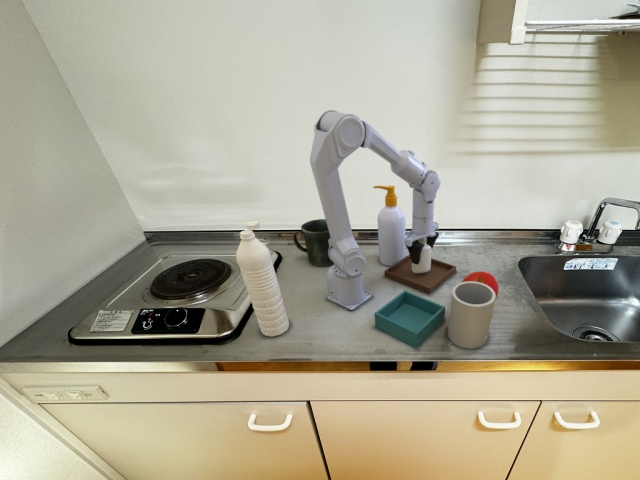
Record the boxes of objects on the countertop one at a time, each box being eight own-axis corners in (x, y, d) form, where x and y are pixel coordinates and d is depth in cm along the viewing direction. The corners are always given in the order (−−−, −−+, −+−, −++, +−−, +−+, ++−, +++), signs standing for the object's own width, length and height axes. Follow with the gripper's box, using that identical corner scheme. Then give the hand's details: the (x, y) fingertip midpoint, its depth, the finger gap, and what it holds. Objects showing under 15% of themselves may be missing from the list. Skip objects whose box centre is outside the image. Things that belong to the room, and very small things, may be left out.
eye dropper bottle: (429, 274, 94) (432, 237, 87) (410, 273, 94) (411, 236, 87) (430, 267, 97) (433, 231, 90) (412, 266, 98) (413, 229, 91)
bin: (375, 327, 77) (374, 313, 74) (404, 303, 85) (404, 290, 82) (416, 348, 71) (417, 333, 68) (444, 320, 79) (445, 306, 76)
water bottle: (286, 336, 74) (258, 237, 60) (258, 338, 74) (222, 239, 59) (293, 313, 81) (269, 220, 67) (267, 314, 81) (237, 221, 66)
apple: (488, 289, 85) (491, 258, 76) (501, 315, 79) (507, 285, 70) (455, 298, 85) (454, 268, 76) (466, 325, 80) (466, 296, 70)
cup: (447, 320, 78) (451, 280, 71) (484, 322, 77) (492, 282, 70) (448, 347, 71) (452, 305, 64) (489, 349, 70) (498, 307, 63)
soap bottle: (379, 253, 108) (376, 181, 94) (406, 254, 107) (407, 182, 93) (374, 265, 101) (370, 190, 87) (403, 267, 100) (403, 191, 86)
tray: (384, 276, 96) (384, 270, 94) (413, 257, 106) (413, 252, 104) (429, 294, 88) (429, 288, 87) (455, 272, 98) (456, 266, 96)
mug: (339, 268, 100) (334, 232, 93) (293, 267, 100) (285, 232, 93) (344, 252, 109) (340, 218, 102) (302, 252, 109) (295, 218, 102)
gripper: (420, 227, 79) (418, 273, 87) (449, 210, 88) (445, 254, 96) (397, 220, 82) (398, 266, 90) (427, 205, 92) (425, 247, 100)
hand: (421, 259), depth 94 cm, fingers closed on eye dropper bottle, 5 cm apart
